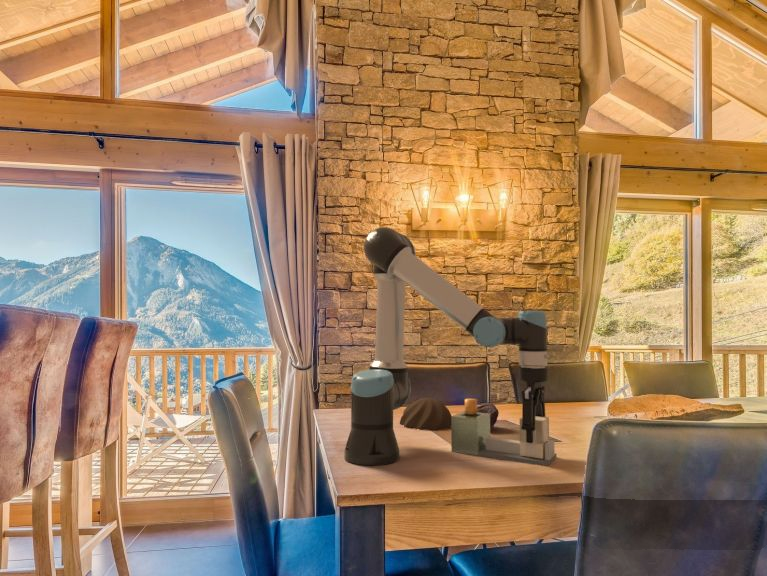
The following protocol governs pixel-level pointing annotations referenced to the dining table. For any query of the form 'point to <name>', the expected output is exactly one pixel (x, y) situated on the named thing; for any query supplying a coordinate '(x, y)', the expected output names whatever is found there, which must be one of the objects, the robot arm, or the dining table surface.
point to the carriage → (541, 436)
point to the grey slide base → (515, 451)
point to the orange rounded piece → (470, 406)
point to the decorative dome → (426, 415)
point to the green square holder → (469, 432)
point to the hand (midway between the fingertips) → (534, 451)
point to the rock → (489, 412)
